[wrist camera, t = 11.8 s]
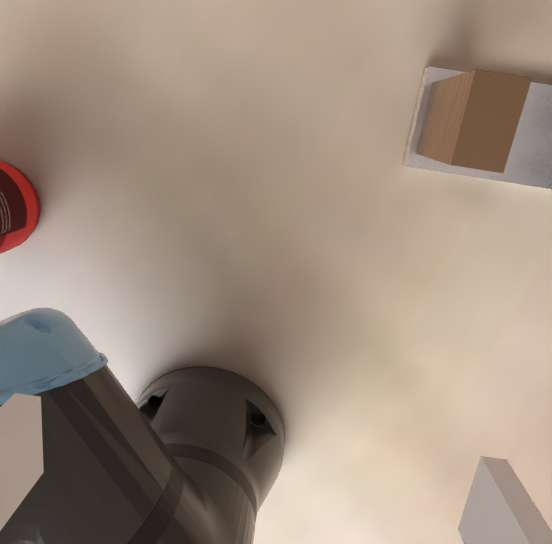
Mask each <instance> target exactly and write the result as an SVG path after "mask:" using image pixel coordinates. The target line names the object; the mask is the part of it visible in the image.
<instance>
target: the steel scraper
mask: <svg viewBox="0 0 552 544" xmlns="http://www.w3.org/2000/svg"><path fill="white" fill-rule="evenodd" d="M531 81H532V78H528V77H521V76H515V75H508V74H502V73H495V72H488V71H482V70H473V71H469V72H463V71H456V70H450V69H443V68H436V67H430V66H429V67H427V68H425V69H424V74H423V78H422V82H421V87H420V91H419V95H418V100H417V104H416V108H415V113H414V117H413V121H412V126H411V130H410V134H409V139H408V143H407V147H406V152H405V156H404V160H403V165H404V166H408V167H414V168H421V169H427V170H434V171H440V172H446V173H453V174H459V175H466V176H472V177H478V178H485V179H491V180H498V181H504V182H510V183H517V184H523V185H530V186H536V187H542V188H549V189H552V85H549V84H542V83H535V82H531Z"/></svg>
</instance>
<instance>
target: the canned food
mask: <svg viewBox="0 0 552 544" xmlns="http://www.w3.org/2000/svg"><path fill="white" fill-rule="evenodd" d="M39 216H40V205H39V198H38V196H37V193H36V190H35V188H34V187H33V185H32V183H31V182H30V180H29V179H28V178H27V177H26V176H25V175H24V174H23V173H22V172H21V171H20V170H19V169H17V168H15V167H14V166H12V165H10V164H7V163H4V162H2V161H0V253H3V252H5V251H7V250H10V249H12V248H14V247H16V246H18V245H20V244H22V243H23V242H24V241H25V240H27V238H28V237H29V236H30V235H31V233H32V232H33V231H34V230H35V227H36V225H37V223H38V220H39Z"/></svg>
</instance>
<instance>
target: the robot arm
mask: <svg viewBox="0 0 552 544" xmlns="http://www.w3.org/2000/svg"><path fill="white" fill-rule="evenodd" d="M107 362H108V359H107V358H106V356H105V355H104V354H102V353H99V352H98V351H97V350H96V349H95V348H94V346H93V345H92V344H91V343H90V342H89V340H88V339H87V338H86V337H85V335H84V334H83V333H82V332H81V330H80V329H79V328H78V327H77V326H76V324H75V323H74V322H73V321H72V319H70V318H69V317H68V316H67V315H66V314H64V313H63V312H61V311H58V310H55V309H51V308H36V309H31V310H28V311H25V312H22V313H19V314H17V315H14V316H12V317H9V318H7V319H4V320H2V321H0V544H253V539H254V531H255V522H256V515H257V512H258V510H259V508H260V507H261V505H262V503H263V501H264V500H265V498H266V496H267V494H268V493H269V491H270V489H271V487H272V486H273V484H274V482H275V480H276V478H277V476H278V474H279V472H280V468H281V465H282V461H283V453H284V438H285V437H284V428H283V423H282V420H281V417H280V415H279V413H278V411H277V409H276V407H275V405H274V404H273V402H272V401H271V400H270V399H269V397H268V396H267V395H266V394H265V393H264V392H263V391H262V390H261V389H260V388H259V387H257V386H256V385H255V384H253V383H252V382H250V381H249V380H247V379H245V378H243V377H241V376H239V375H237V374H235V373H232V372H229V371H226V370H222V369H217V368H210V367H191V368H185V369H180V370H177V371H173V372H171V373H168V374H166V375H164V376H162V377H161V378H159V379H158V380H156V381H155V382H153V383H152V384H151V385H150V386H149V387H148V388H147V389H146V390H145V391H144V393H143V394H142V395H141V397H140V398H139V400H138V402H137V403H136V405H135V403H134V402H133V401H132V399H131V398H130V396H129V395H128V394H127V392H126V391H125V390H124V388H123V387H122V385H121V384H120V383H119V381H118V380H117V379H116V377H115V376H114V375H113V373H112V372H111V370H110V369H109V368H108V366H107V365H106V364H107ZM458 530H459V533H460V535H461V538H462V540H463V543H464V544H552V531H551V529H550V528H549V526H548V525H547V523H546V521H545V520H544V518H543V517H542V515H541V513H540V512H539V510H538V509H537V507H536V505H535V504H534V502H533V501H532V499H531V498H530V496H529V494H528V493H527V491H526V490H525V488H524V486H523V485H522V483H521V482H520V480H519V478H518V477H517V475H516V474H515V472H514V471H513V469H512V467H511V466H510V464H509V463H508V461H507V460H505V459H497V458H490V457H483V456H481V458H480V461H479V464H478V467H477V470H476V473H475V476H474V480H473V483H472V486H471V489H470V492H469V495H468V498H467V502H466V505H465V508H464V511H463V514H462V517H461V520H460V524H459V527H458Z"/></svg>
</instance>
